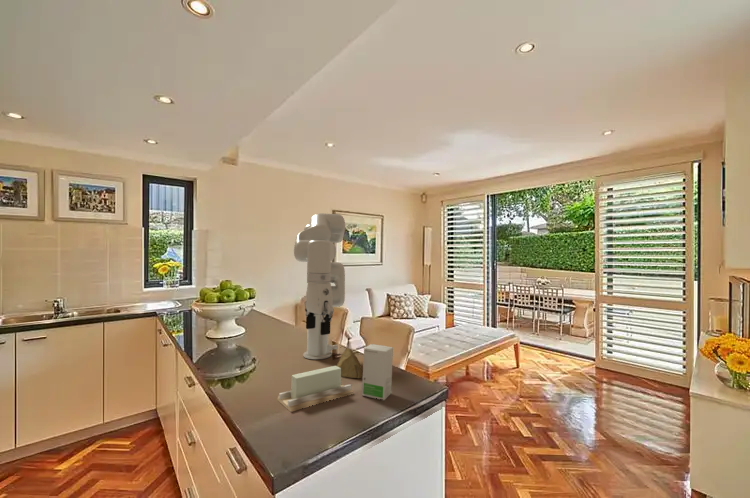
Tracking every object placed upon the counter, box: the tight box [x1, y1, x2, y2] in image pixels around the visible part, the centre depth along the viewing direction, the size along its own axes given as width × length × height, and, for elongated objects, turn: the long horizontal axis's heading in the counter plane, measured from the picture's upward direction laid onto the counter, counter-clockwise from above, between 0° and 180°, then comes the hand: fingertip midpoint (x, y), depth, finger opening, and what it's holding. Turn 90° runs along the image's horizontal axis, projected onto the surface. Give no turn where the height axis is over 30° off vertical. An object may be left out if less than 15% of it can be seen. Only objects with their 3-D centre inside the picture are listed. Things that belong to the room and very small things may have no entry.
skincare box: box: [361, 343, 394, 401], centre depth 111 cm, size 8×7×16 cm
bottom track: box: [276, 383, 354, 413], centre depth 109 cm, size 22×10×2 cm, turn 128°
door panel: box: [290, 365, 342, 399], centre depth 109 cm, size 16×4×7 cm, turn 128°
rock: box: [336, 347, 363, 379], centre depth 128 cm, size 11×9×10 cm
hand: (317, 331), depth 109 cm, fingers open, 9 cm apart
